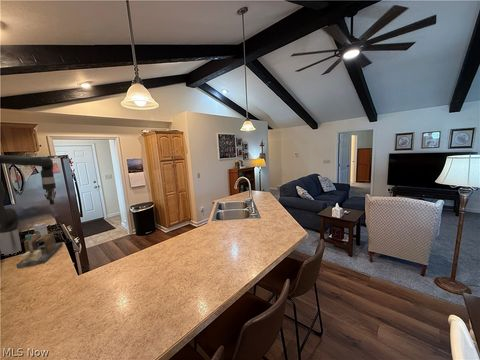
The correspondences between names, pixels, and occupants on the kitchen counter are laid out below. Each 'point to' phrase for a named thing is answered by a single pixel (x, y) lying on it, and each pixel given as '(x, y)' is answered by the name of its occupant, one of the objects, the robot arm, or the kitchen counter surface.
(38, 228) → the syrup box
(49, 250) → the tunnel
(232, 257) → the kitchen counter surface
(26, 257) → the slider block
